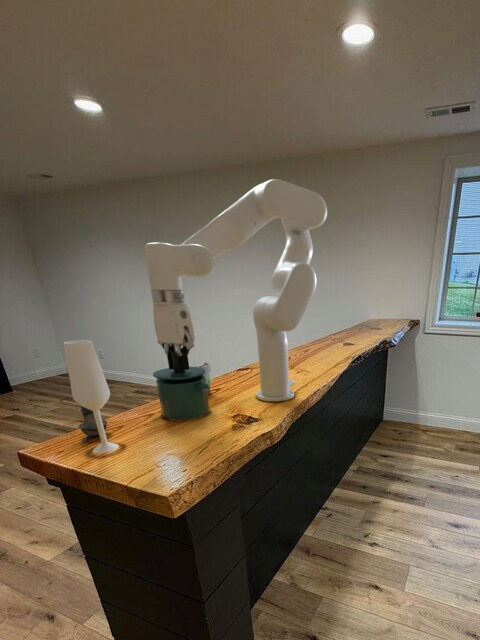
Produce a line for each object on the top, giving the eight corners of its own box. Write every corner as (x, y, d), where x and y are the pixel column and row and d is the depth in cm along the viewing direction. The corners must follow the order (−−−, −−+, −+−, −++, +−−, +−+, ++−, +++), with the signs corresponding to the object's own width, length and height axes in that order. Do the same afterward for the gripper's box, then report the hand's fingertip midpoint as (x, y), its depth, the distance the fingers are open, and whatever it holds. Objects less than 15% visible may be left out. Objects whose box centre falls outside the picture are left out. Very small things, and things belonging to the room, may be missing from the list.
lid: (183, 368, 105) (179, 346, 102) (216, 373, 99) (213, 350, 96) (142, 377, 94) (137, 353, 91) (176, 384, 88) (172, 358, 85)
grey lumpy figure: (81, 444, 81) (66, 395, 76) (83, 435, 86) (70, 388, 81) (110, 440, 84) (97, 392, 79) (111, 431, 88) (99, 385, 84)
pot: (182, 403, 110) (177, 370, 106) (225, 412, 102) (221, 377, 98) (147, 414, 100) (140, 379, 96) (191, 426, 92) (185, 388, 88)
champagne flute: (122, 442, 83) (97, 338, 73) (124, 452, 77) (98, 342, 68) (88, 448, 79) (58, 340, 70) (89, 459, 74) (56, 345, 65)
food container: (193, 402, 111) (188, 371, 107) (180, 399, 114) (175, 368, 110) (221, 392, 121) (218, 364, 117) (209, 390, 124) (205, 362, 120)
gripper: (202, 298, 88) (211, 370, 95) (159, 296, 95) (170, 363, 102) (178, 299, 82) (189, 375, 89) (134, 297, 89) (148, 368, 96)
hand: (179, 368), depth 96 cm, fingers closed on lid, 3 cm apart
